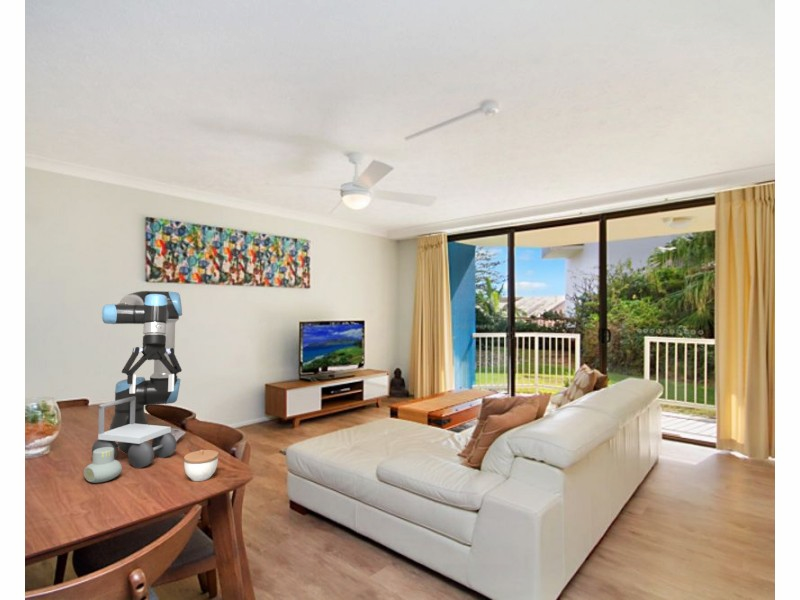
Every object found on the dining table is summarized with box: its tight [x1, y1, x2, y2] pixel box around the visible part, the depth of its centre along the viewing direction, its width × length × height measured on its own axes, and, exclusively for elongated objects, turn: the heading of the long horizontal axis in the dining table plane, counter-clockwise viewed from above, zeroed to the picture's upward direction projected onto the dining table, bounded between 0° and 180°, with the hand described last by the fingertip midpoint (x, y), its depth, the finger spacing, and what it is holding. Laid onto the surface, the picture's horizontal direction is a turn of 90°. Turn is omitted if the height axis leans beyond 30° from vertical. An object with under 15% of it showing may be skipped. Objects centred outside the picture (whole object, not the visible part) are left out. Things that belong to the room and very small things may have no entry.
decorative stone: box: [152, 427, 187, 443], centre depth 184 cm, size 13×10×6 cm
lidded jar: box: [183, 449, 220, 482], centre depth 147 cm, size 11×11×9 cm
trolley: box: [91, 396, 177, 469], centre depth 163 cm, size 15×25×22 cm, turn 77°
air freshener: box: [83, 447, 123, 484], centre depth 144 cm, size 11×8×10 cm
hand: (152, 392), depth 158 cm, fingers open, 13 cm apart
